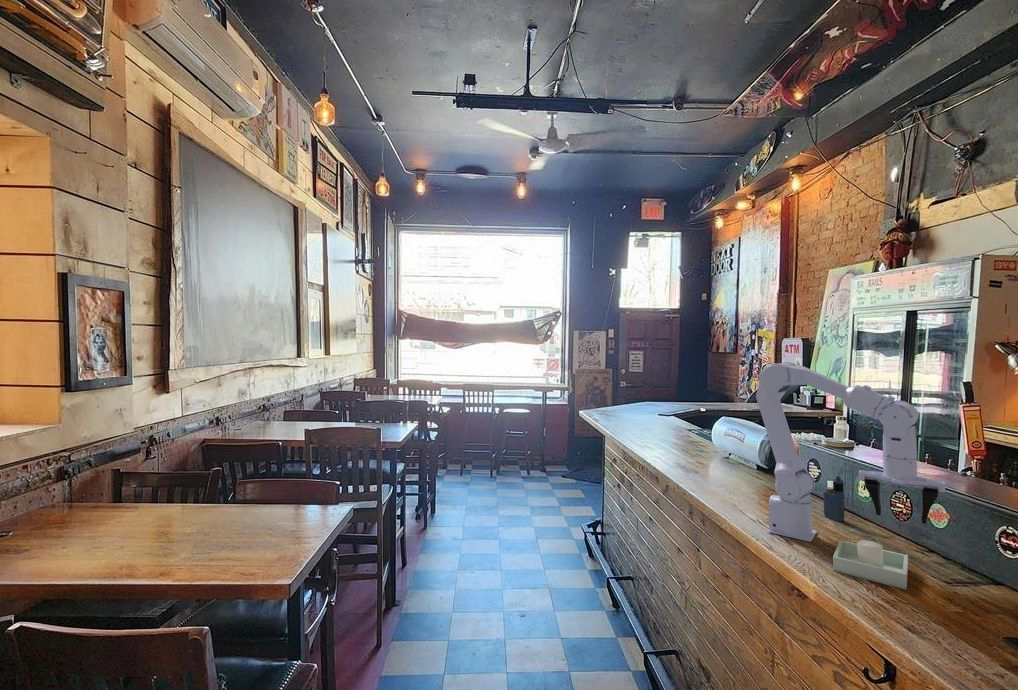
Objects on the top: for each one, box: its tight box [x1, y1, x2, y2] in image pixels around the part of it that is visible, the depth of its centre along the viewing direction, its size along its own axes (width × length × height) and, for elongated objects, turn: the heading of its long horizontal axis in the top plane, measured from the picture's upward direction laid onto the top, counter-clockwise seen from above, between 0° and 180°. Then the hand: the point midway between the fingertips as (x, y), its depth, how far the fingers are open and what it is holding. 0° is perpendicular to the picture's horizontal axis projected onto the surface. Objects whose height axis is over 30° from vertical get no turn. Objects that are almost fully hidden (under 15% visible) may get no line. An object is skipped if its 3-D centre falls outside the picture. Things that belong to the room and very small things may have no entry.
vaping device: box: [823, 476, 845, 523], centre depth 128 cm, size 3×5×12 cm, turn 16°
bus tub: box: [832, 539, 909, 591], centre depth 99 cm, size 12×11×3 cm
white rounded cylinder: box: [856, 539, 884, 568], centre depth 99 cm, size 4×4×5 cm
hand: (900, 517), depth 102 cm, fingers open, 7 cm apart
